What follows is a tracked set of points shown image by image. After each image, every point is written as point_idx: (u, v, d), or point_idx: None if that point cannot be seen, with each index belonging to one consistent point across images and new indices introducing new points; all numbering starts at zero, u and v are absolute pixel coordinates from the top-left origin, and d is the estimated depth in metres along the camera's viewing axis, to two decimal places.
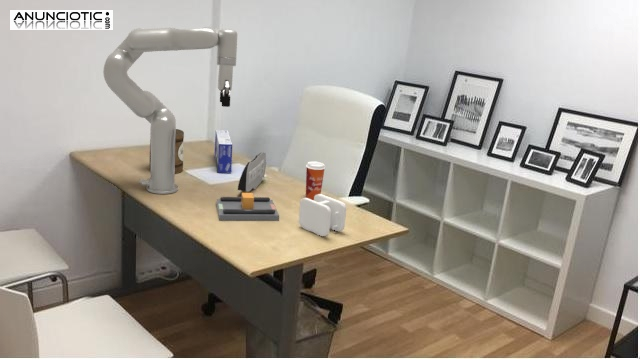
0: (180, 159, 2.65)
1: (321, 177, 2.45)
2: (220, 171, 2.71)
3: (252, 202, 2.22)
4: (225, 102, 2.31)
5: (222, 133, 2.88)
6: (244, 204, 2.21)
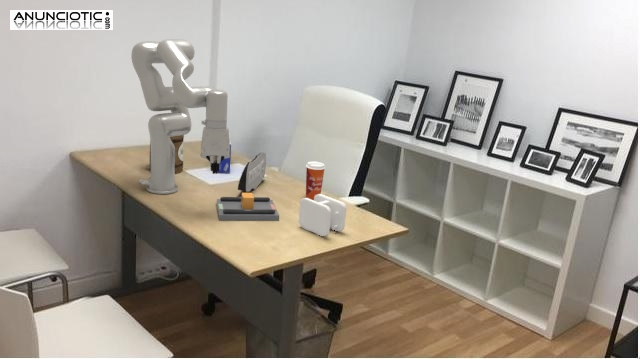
0: (180, 159, 2.65)
1: (321, 177, 2.45)
2: (219, 171, 2.71)
3: (252, 202, 2.22)
4: (218, 168, 2.17)
5: None
6: (244, 204, 2.21)
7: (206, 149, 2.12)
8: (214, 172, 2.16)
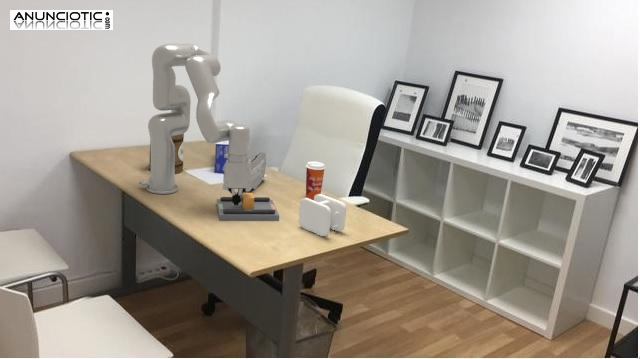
0: (180, 159, 2.65)
1: (321, 177, 2.45)
2: (217, 171, 2.71)
3: (252, 202, 2.22)
4: None
5: None
6: (244, 204, 2.21)
7: (228, 182, 2.18)
8: (235, 204, 2.22)
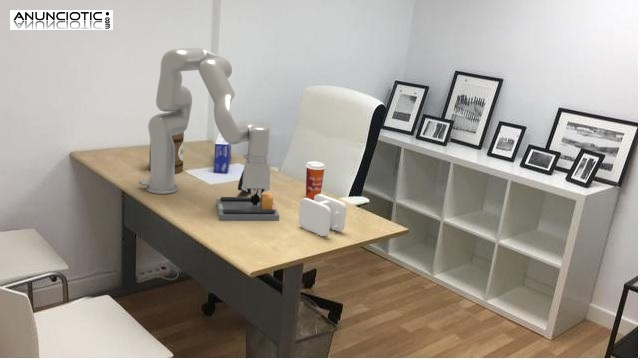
0: (180, 159, 2.65)
1: (321, 177, 2.45)
2: (216, 171, 2.71)
3: (271, 202, 2.23)
4: None
5: None
6: (263, 204, 2.23)
7: (248, 183, 2.19)
8: (254, 204, 2.24)
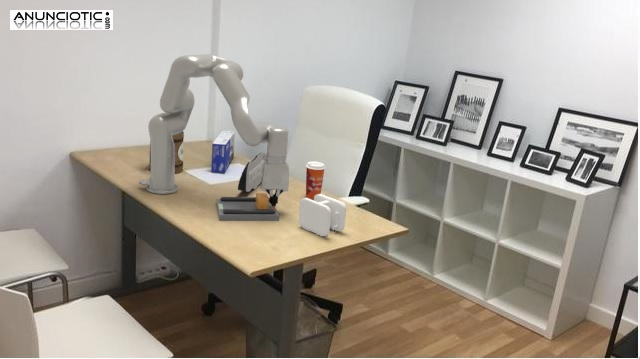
0: (180, 159, 2.65)
1: (321, 177, 2.45)
2: (214, 171, 2.71)
3: (266, 202, 2.23)
4: None
5: (226, 133, 2.88)
6: (259, 204, 2.23)
7: (267, 184, 2.21)
8: (273, 205, 2.26)
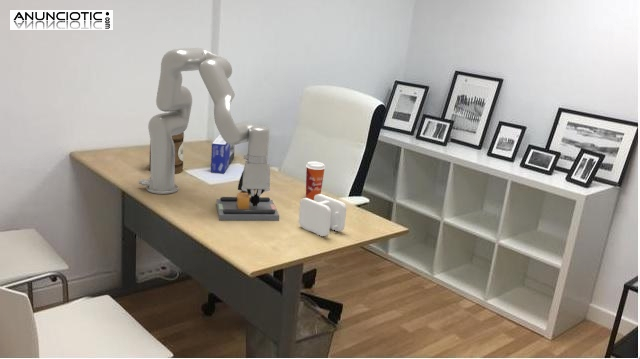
0: (180, 159, 2.65)
1: (321, 177, 2.45)
2: (213, 171, 2.71)
3: (247, 202, 2.21)
4: None
5: None
6: (239, 204, 2.21)
7: (248, 183, 2.19)
8: (254, 204, 2.24)
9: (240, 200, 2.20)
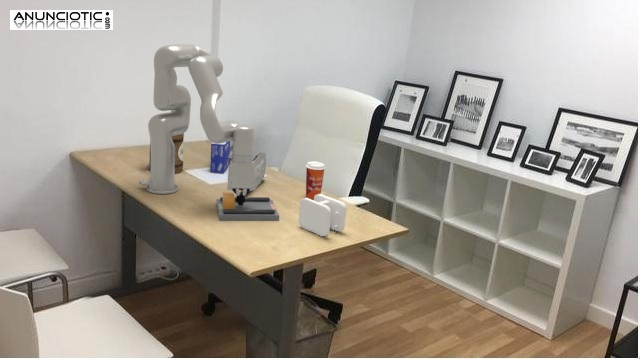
0: (180, 159, 2.65)
1: (321, 177, 2.45)
2: (212, 171, 2.71)
3: (233, 202, 2.20)
4: None
5: None
6: (225, 204, 2.19)
7: (233, 182, 2.18)
8: (240, 204, 2.22)
9: (225, 200, 2.19)
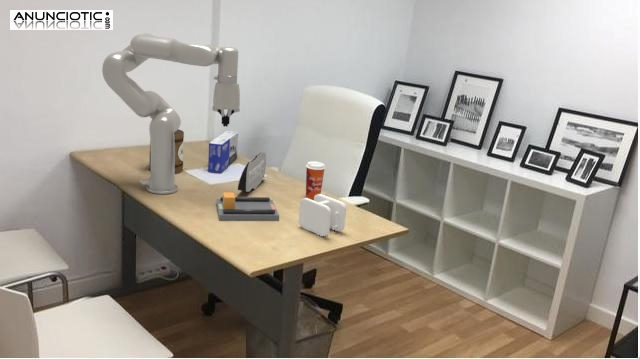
0: (180, 159, 2.65)
1: (321, 177, 2.45)
2: (210, 170, 2.71)
3: (233, 202, 2.20)
4: None
5: (227, 134, 2.88)
6: (225, 204, 2.20)
7: (218, 103, 2.28)
8: (225, 125, 2.32)
9: (226, 200, 2.19)
